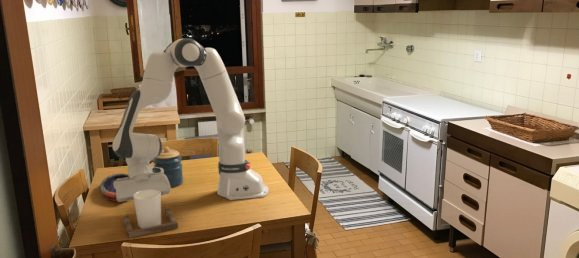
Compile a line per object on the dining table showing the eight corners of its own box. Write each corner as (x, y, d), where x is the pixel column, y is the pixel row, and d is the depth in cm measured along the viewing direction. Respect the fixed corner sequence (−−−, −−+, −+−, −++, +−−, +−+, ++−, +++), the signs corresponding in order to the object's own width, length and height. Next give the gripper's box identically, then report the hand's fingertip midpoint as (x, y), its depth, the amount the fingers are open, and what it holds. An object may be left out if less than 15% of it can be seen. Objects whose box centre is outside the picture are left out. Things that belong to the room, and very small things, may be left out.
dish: (135, 179, 223) (134, 169, 222) (140, 203, 195) (139, 191, 194) (101, 184, 218) (99, 173, 216) (100, 208, 190) (98, 197, 188)
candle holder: (130, 227, 172) (127, 197, 169) (147, 217, 181) (144, 187, 178) (152, 231, 168) (149, 200, 165) (168, 220, 177) (166, 191, 174)
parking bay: (124, 221, 177) (123, 216, 177) (169, 212, 184) (168, 207, 184) (129, 238, 164) (129, 232, 163) (178, 228, 171) (177, 223, 170)
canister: (149, 187, 211) (146, 150, 207) (162, 178, 224) (159, 142, 220) (176, 189, 209) (174, 151, 205) (187, 179, 222) (185, 143, 217)
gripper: (112, 175, 177) (117, 209, 171) (167, 167, 185) (174, 199, 179) (112, 183, 182) (117, 215, 176) (165, 175, 190) (172, 205, 184)
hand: (146, 207), depth 177 cm, fingers closed
